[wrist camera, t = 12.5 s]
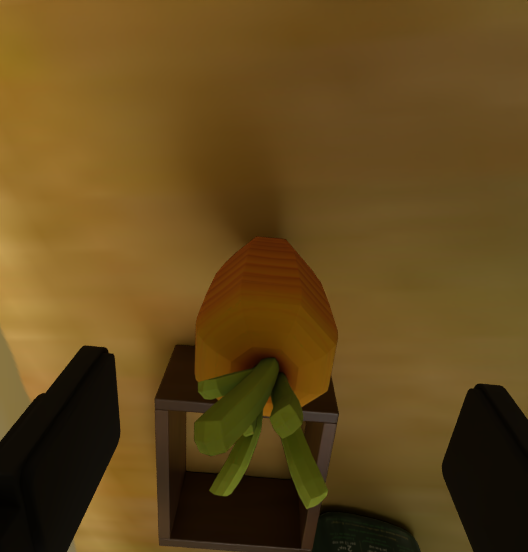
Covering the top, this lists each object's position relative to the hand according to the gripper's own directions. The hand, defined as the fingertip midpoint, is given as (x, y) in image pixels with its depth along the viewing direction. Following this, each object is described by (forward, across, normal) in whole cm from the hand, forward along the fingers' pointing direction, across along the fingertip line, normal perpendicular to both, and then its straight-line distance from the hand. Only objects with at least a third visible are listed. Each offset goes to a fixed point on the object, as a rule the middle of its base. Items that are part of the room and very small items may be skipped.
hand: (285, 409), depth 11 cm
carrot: (+13, +1, 0) cm, 13 cm away
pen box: (+13, +1, +13) cm, 18 cm away
